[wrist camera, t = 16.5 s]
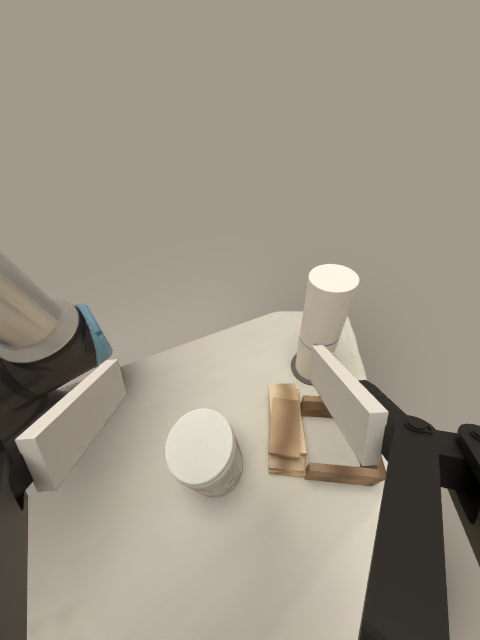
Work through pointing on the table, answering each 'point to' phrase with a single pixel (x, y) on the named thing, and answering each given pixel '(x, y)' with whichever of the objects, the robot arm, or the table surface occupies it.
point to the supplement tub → (204, 452)
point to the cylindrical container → (324, 311)
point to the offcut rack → (291, 444)
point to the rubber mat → (298, 373)
